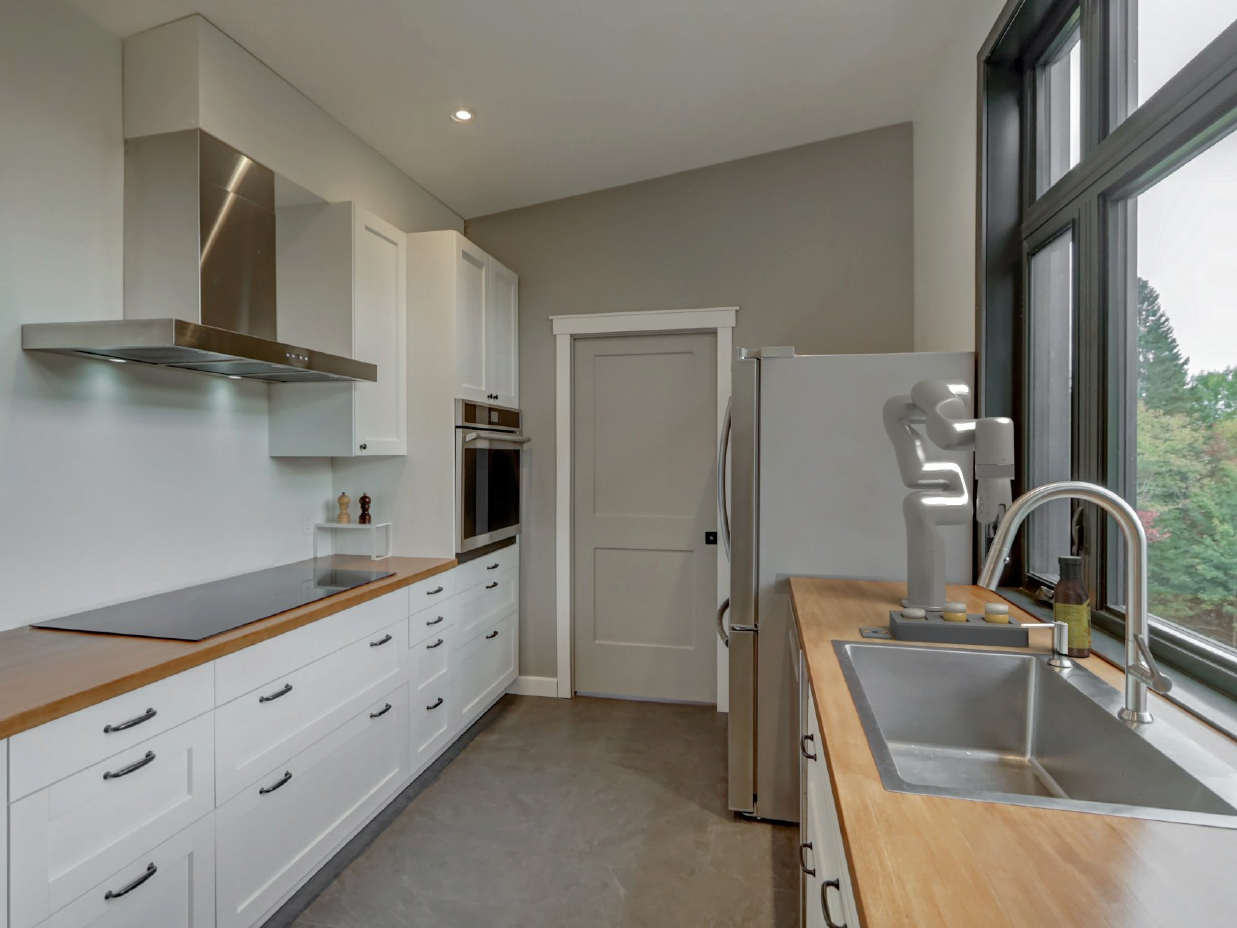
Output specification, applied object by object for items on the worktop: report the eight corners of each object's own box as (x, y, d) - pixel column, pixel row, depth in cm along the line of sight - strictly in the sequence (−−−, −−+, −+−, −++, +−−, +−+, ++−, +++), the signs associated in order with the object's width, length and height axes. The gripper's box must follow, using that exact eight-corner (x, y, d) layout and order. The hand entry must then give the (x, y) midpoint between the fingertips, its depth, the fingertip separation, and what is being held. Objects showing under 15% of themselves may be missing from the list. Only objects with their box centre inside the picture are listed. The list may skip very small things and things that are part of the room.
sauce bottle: (1097, 658, 131) (1096, 559, 131) (1062, 657, 133) (1061, 558, 133) (1081, 649, 138) (1080, 554, 138) (1048, 648, 139) (1047, 554, 139)
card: (859, 628, 157) (859, 626, 157) (886, 630, 155) (886, 627, 155) (863, 637, 149) (863, 635, 149) (891, 639, 148) (891, 636, 148)
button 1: (901, 630, 154) (901, 607, 154) (923, 631, 153) (922, 608, 153) (905, 635, 149) (904, 611, 149) (927, 636, 148) (926, 612, 148)
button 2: (982, 626, 150) (982, 602, 150) (1004, 627, 148) (1004, 603, 148) (988, 631, 145) (987, 607, 145) (1011, 633, 144) (1011, 607, 144)
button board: (889, 627, 158) (889, 610, 158) (1010, 633, 151) (1010, 615, 151) (897, 640, 146) (897, 622, 146) (1028, 647, 140) (1028, 628, 140)
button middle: (941, 624, 152) (941, 601, 152) (963, 625, 151) (963, 601, 151) (946, 629, 147) (945, 605, 147) (968, 631, 146) (968, 606, 146)
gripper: (967, 472, 155) (968, 550, 155) (985, 473, 140) (986, 559, 140) (1003, 472, 153) (1004, 551, 153) (1024, 473, 138) (1026, 560, 138)
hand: (995, 555), depth 147 cm, fingers closed
